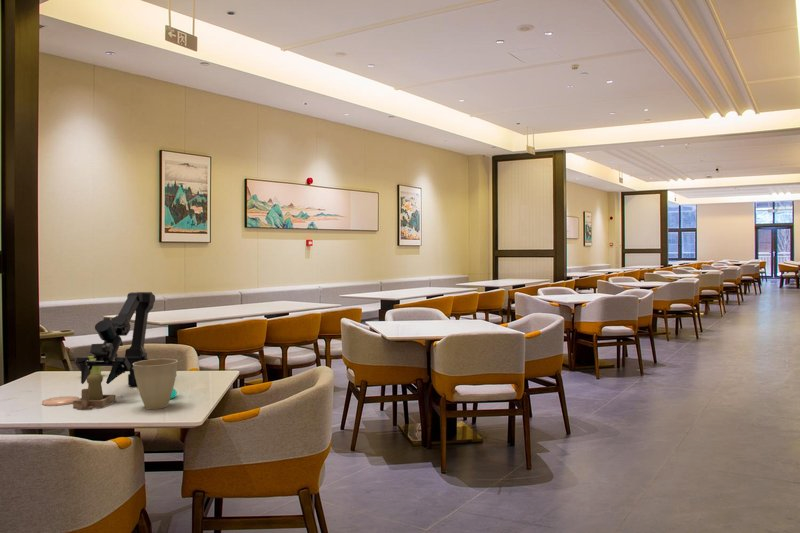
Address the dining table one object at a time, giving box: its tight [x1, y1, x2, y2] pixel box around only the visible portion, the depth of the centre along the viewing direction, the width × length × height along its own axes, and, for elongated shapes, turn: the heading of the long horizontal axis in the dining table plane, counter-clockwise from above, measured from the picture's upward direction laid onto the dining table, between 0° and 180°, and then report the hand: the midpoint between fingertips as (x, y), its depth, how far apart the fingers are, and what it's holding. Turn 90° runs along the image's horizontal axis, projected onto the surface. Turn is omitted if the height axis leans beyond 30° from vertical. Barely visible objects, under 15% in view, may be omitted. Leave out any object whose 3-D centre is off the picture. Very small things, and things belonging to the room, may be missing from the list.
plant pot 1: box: [87, 355, 102, 375], centre depth 279 cm, size 9×9×9 cm
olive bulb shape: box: [86, 374, 104, 400], centre depth 225 cm, size 6×6×11 cm
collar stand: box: [72, 388, 117, 411], centre depth 224 cm, size 12×10×7 cm
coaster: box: [41, 395, 80, 407], centre depth 230 cm, size 12×12×1 cm
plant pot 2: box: [133, 358, 179, 410], centre depth 222 cm, size 15×15×16 cm
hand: (94, 383), depth 225 cm, fingers open, 9 cm apart
